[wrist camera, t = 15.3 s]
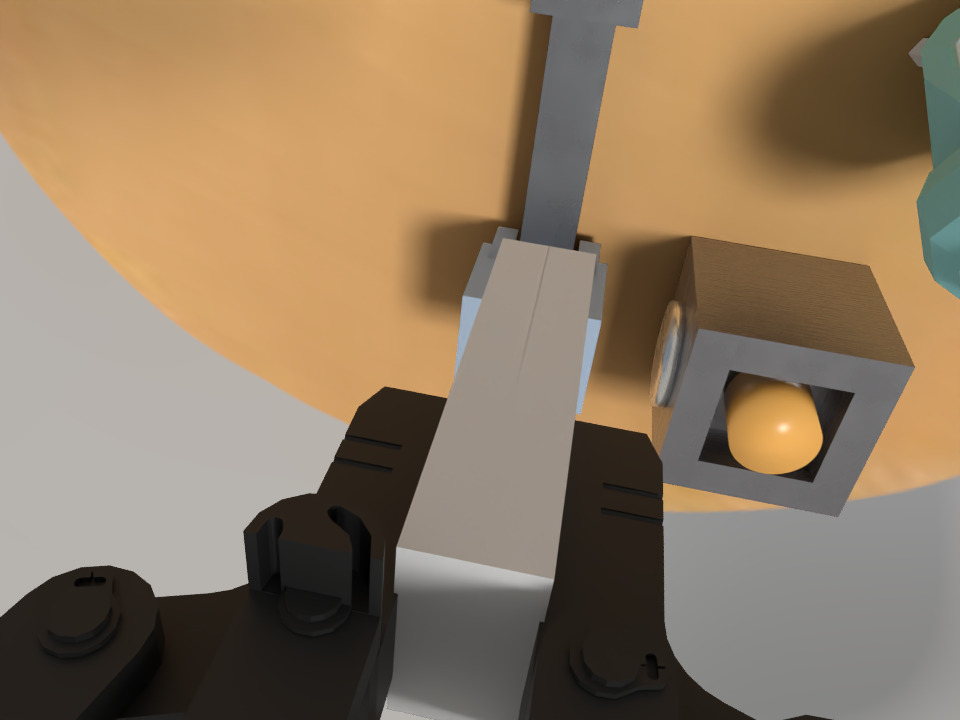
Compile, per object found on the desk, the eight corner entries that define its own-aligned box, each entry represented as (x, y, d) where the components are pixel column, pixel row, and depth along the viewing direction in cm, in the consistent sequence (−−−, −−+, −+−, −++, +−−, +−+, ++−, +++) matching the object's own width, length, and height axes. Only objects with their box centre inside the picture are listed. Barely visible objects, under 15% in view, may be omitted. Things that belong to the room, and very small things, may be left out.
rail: (544, -38, 40) (534, -23, 37) (645, -23, 40) (644, -7, 36) (494, 332, 53) (483, 367, 50) (570, 346, 52) (564, 382, 49)
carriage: (490, 224, 47) (462, 295, 41) (609, 245, 47) (601, 320, 40) (479, 311, 51) (452, 389, 44) (590, 331, 50) (580, 414, 44)
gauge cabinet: (680, 234, 47) (686, 326, 39) (869, 266, 46) (914, 367, 38) (643, 373, 53) (640, 478, 44) (809, 403, 52) (838, 517, 44)
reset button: (737, 357, 42) (743, 397, 39) (823, 373, 42) (836, 415, 39) (714, 422, 45) (718, 464, 42) (795, 437, 44) (805, 481, 41)
